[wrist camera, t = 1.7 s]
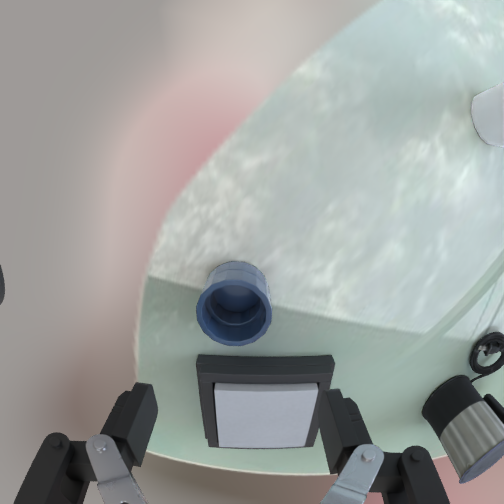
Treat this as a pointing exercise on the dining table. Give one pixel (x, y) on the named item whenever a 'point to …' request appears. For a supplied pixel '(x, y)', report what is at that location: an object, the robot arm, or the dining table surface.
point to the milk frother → (470, 416)
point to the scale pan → (264, 414)
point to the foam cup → (490, 115)
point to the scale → (259, 382)
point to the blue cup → (235, 304)
